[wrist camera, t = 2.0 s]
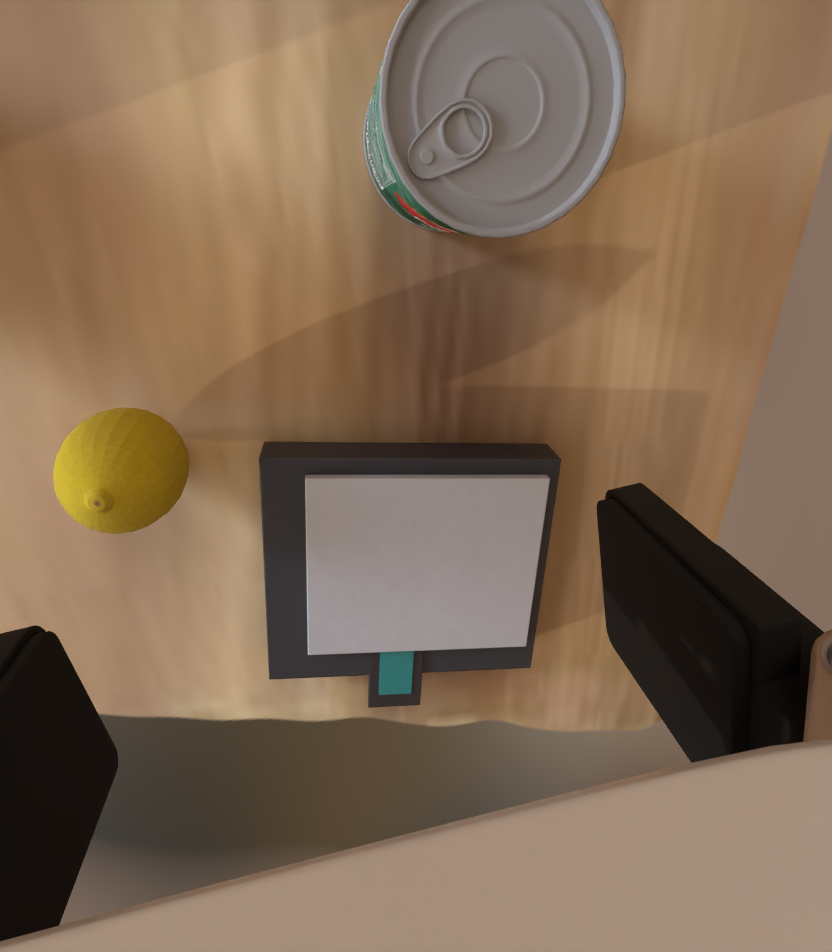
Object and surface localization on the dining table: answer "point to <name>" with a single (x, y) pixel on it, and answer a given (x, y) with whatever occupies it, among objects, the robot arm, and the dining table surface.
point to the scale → (403, 558)
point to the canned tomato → (494, 112)
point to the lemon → (120, 470)
